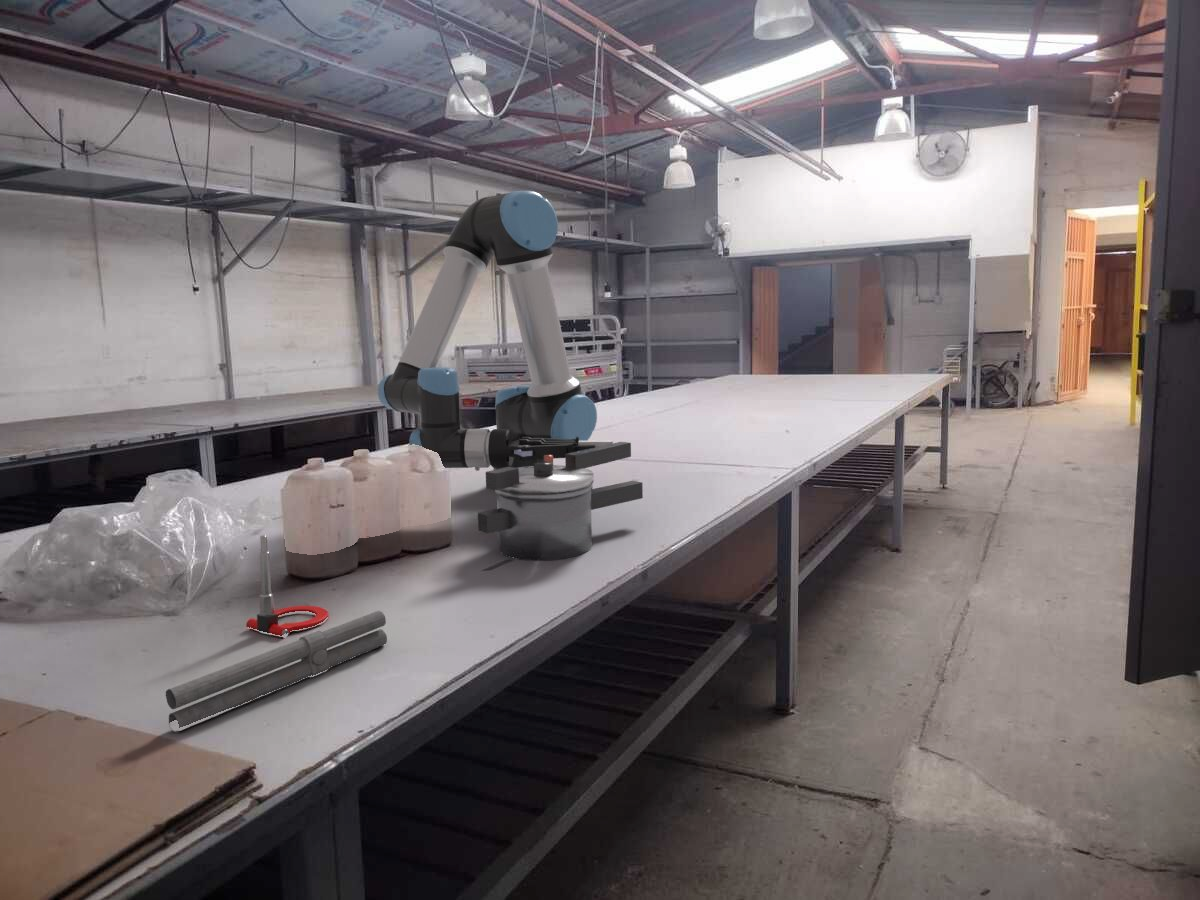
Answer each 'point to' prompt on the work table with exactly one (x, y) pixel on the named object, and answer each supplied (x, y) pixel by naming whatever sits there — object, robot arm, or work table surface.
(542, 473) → the lid
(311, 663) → the metal rod assembly
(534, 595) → the work table surface
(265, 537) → the tow hook
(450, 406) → the robot arm
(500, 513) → the pot
